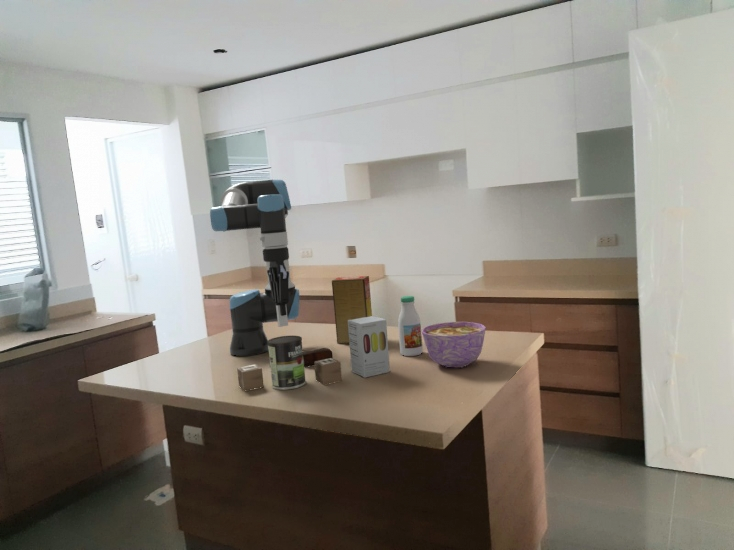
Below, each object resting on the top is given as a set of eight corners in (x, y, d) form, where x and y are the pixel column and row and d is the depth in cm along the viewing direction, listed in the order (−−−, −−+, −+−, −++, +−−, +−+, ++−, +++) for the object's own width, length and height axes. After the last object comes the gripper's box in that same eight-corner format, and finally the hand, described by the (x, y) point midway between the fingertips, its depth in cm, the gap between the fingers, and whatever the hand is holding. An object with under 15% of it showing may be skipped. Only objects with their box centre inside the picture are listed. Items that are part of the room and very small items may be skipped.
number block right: (316, 380, 171) (314, 360, 170) (333, 376, 174) (332, 357, 173) (323, 385, 165) (321, 364, 165) (342, 381, 168) (340, 360, 167)
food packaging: (374, 337, 222) (369, 275, 219) (369, 342, 213) (364, 278, 210) (342, 338, 225) (337, 277, 223) (336, 343, 216) (330, 280, 214)
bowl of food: (438, 354, 189) (436, 320, 188) (496, 357, 179) (494, 322, 178) (413, 371, 172) (410, 334, 171) (475, 376, 162) (473, 337, 160)
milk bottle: (397, 356, 190) (392, 298, 188) (404, 350, 198) (400, 295, 195) (419, 357, 188) (414, 298, 185) (425, 351, 195) (421, 294, 192)
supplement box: (363, 378, 169) (359, 323, 167) (350, 371, 177) (346, 319, 175) (391, 371, 173) (386, 318, 171) (377, 365, 181) (372, 315, 179)
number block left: (239, 387, 171) (236, 367, 170) (258, 382, 174) (255, 363, 173) (244, 391, 166) (242, 371, 165) (263, 387, 168) (261, 367, 168)
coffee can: (312, 381, 170) (308, 336, 169) (291, 391, 162) (286, 344, 160) (287, 378, 176) (282, 334, 174) (264, 388, 167) (260, 342, 166)
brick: (305, 368, 186) (304, 354, 185) (300, 365, 189) (299, 352, 189) (333, 361, 191) (332, 348, 191) (328, 359, 195) (327, 346, 194)
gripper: (256, 248, 168) (264, 324, 171) (269, 249, 157) (278, 331, 159) (280, 245, 172) (287, 320, 174) (294, 246, 160) (302, 326, 163)
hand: (283, 325), depth 167 cm, fingers closed
